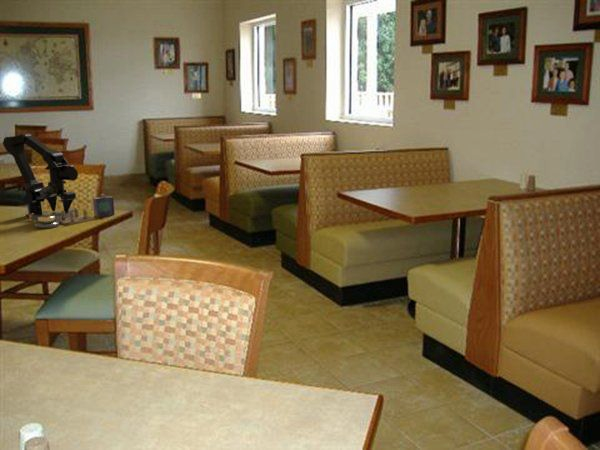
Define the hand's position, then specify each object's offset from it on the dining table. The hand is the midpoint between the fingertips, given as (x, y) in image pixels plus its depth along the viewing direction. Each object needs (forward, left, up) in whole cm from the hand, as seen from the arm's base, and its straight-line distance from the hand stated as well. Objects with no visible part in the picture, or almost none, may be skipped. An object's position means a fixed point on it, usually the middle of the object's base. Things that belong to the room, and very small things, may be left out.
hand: (59, 212), depth 287 cm
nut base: (+10, -14, -3) cm, 17 cm away
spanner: (0, -1, -3) cm, 3 cm away
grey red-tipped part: (+6, -14, -1) cm, 15 cm away
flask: (+14, +14, -3) cm, 20 cm away
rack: (+12, -1, -3) cm, 12 cm away
